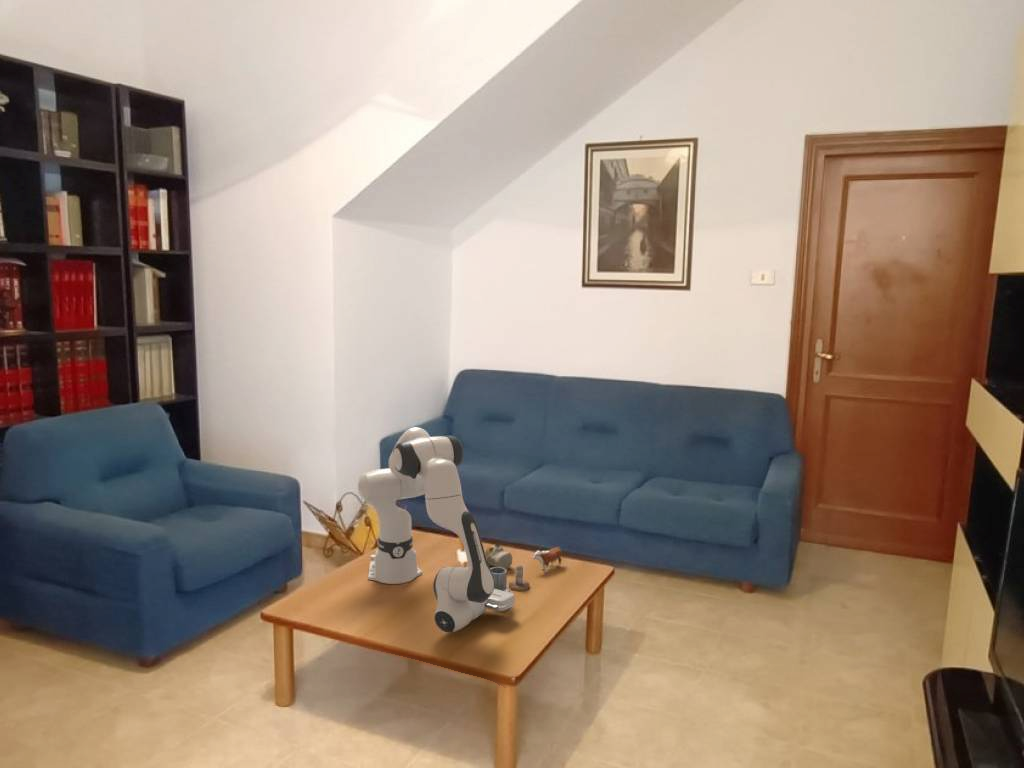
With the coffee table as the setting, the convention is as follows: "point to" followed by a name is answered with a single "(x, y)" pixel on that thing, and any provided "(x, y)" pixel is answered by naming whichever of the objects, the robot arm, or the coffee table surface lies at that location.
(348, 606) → the coffee table surface
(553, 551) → the bull figurine
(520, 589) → the pin stand
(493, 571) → the sleeve
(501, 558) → the ceramic sculpture
